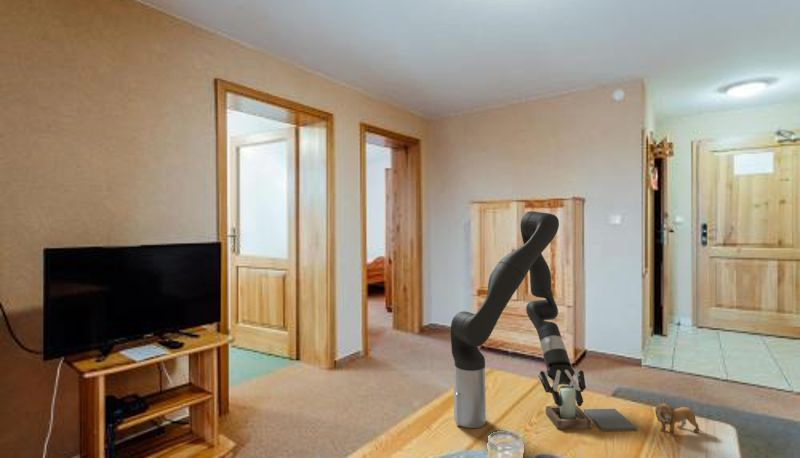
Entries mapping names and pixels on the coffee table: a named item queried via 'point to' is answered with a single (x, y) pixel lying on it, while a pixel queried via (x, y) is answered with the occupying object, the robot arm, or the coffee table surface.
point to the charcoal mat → (609, 419)
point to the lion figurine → (674, 417)
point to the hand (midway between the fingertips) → (570, 405)
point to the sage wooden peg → (567, 403)
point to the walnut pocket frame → (562, 424)
